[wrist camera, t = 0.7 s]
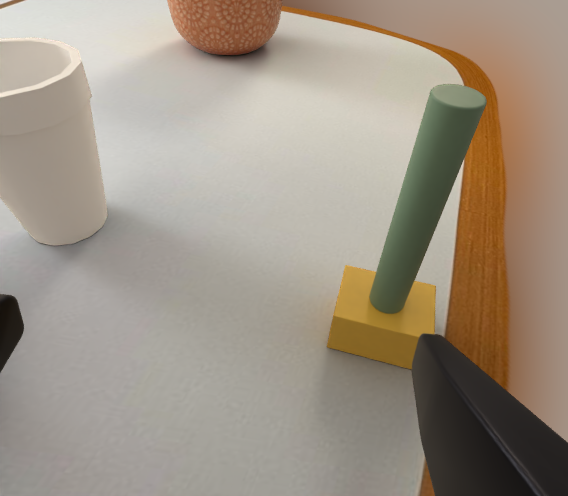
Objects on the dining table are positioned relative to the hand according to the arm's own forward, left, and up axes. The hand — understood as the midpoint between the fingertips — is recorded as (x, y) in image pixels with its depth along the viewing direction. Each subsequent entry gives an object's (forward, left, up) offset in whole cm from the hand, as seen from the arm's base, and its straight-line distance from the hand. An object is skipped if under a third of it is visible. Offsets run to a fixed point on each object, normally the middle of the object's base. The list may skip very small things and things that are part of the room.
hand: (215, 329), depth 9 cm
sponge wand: (+10, -9, -16) cm, 21 cm away
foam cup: (+22, +15, -17) cm, 32 cm away
